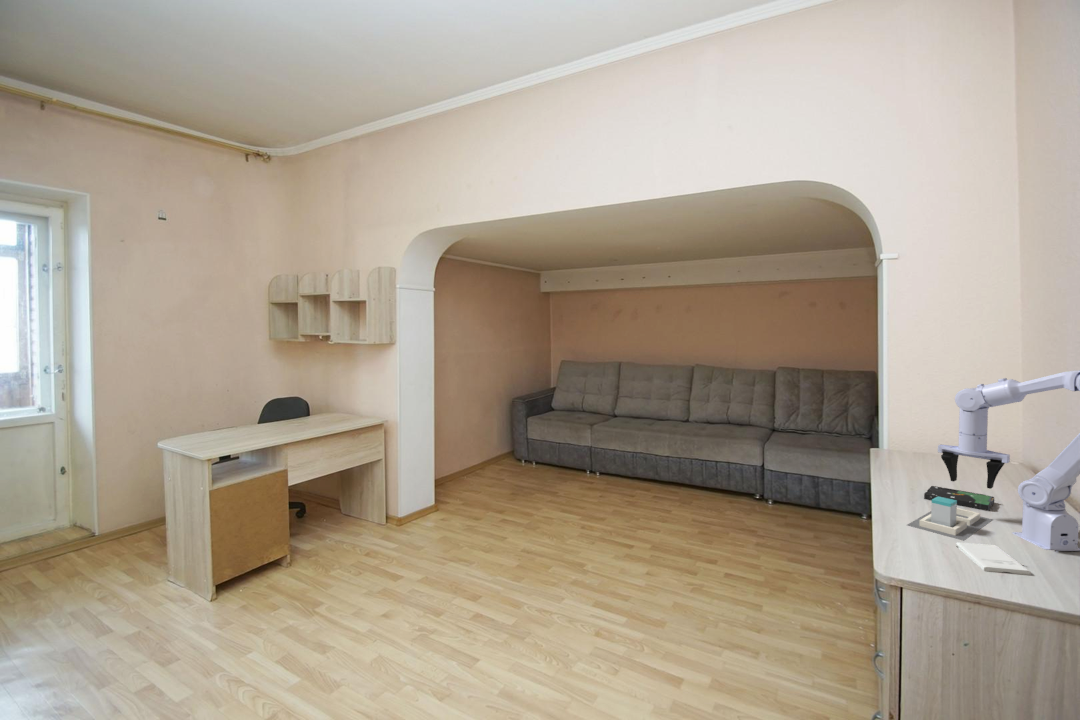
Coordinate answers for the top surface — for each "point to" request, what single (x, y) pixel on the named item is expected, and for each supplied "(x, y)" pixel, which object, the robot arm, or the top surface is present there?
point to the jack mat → (961, 535)
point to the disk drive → (961, 497)
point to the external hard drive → (992, 558)
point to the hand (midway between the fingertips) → (971, 484)
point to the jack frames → (960, 522)
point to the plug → (944, 511)
